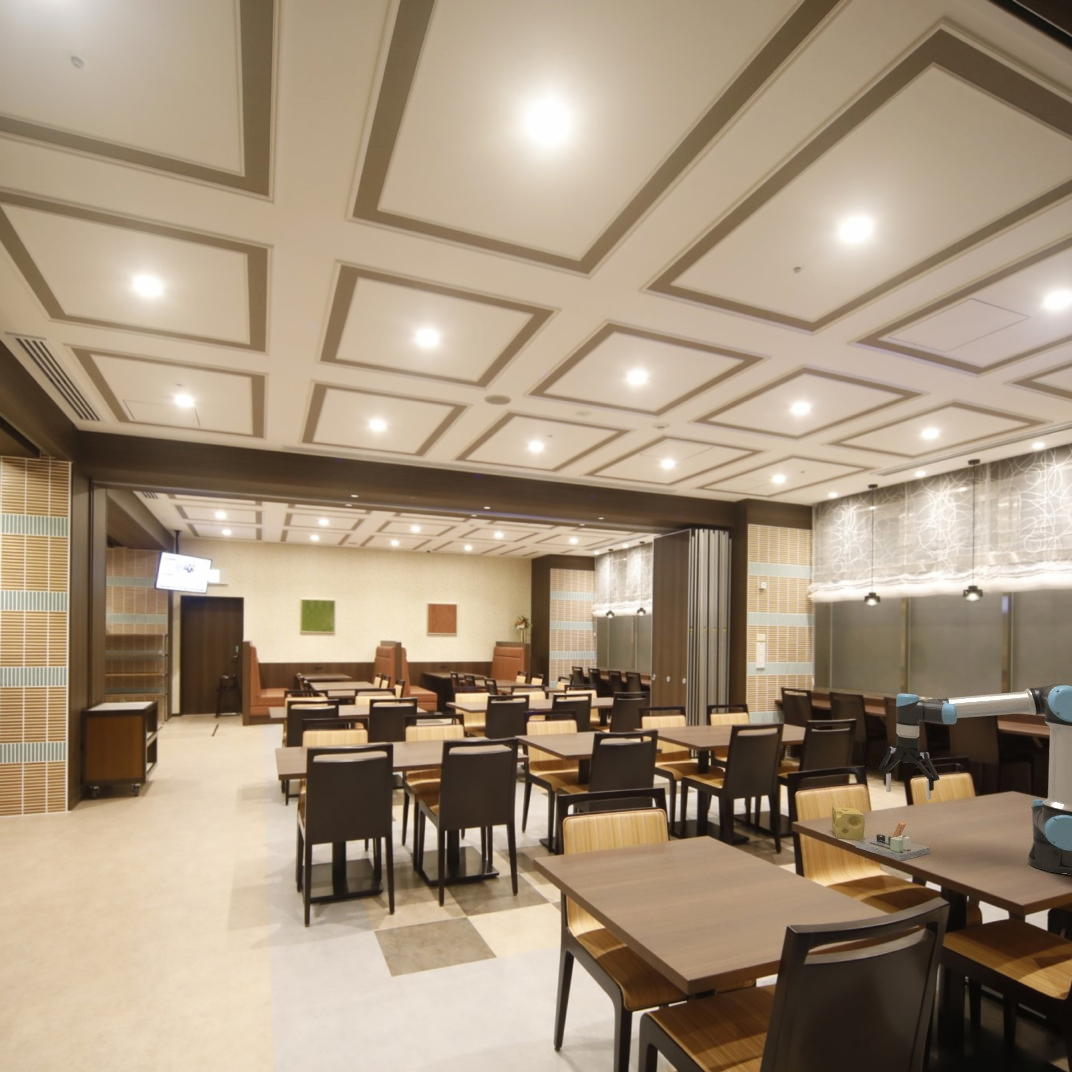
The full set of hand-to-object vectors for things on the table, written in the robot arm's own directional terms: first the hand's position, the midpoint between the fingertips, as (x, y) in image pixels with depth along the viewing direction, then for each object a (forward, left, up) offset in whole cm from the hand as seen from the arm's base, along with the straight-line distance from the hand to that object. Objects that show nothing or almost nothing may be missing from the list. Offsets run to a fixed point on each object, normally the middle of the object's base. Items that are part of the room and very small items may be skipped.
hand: (908, 795), depth 255 cm
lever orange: (+8, -5, -19) cm, 21 cm away
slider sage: (+1, +6, -19) cm, 20 cm away
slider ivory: (+1, +1, -19) cm, 19 cm away
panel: (+6, 0, -21) cm, 22 cm away
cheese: (+25, -1, -21) cm, 32 cm away
